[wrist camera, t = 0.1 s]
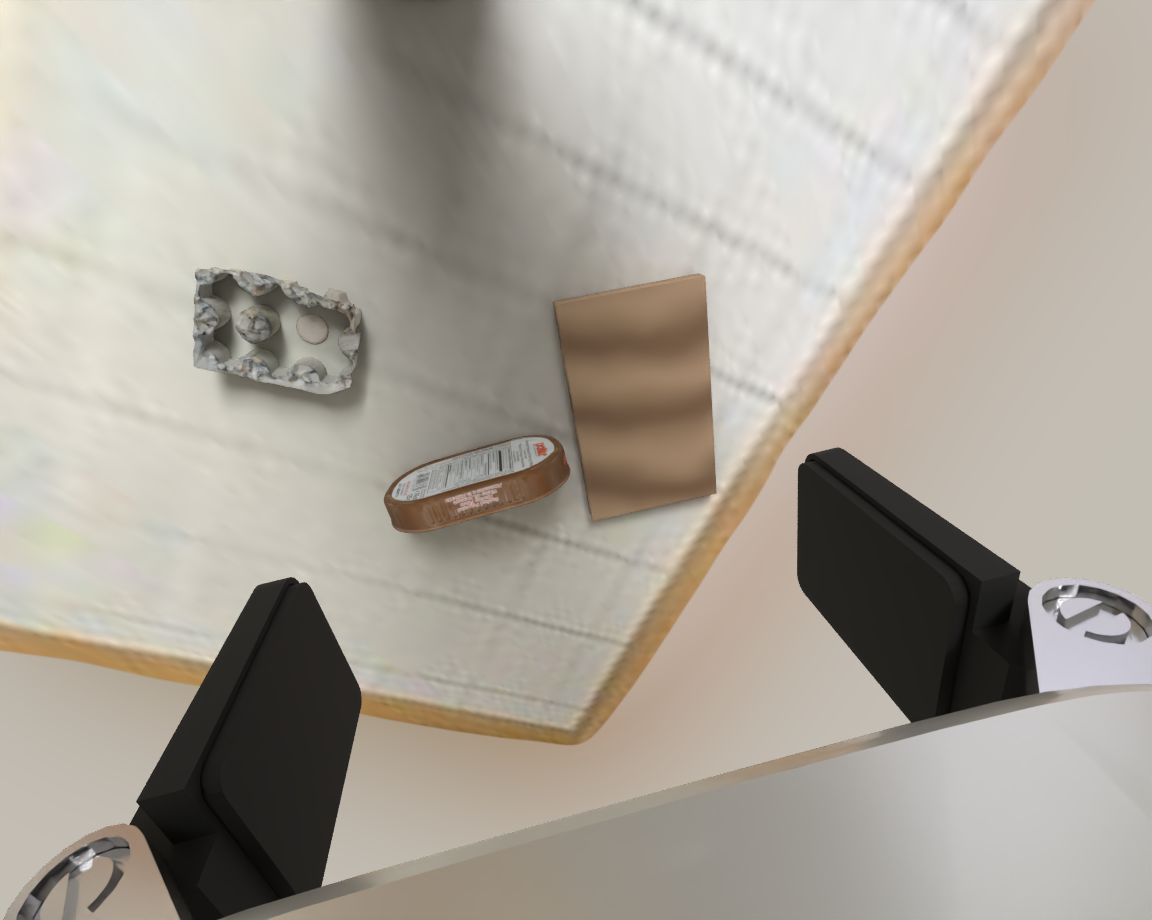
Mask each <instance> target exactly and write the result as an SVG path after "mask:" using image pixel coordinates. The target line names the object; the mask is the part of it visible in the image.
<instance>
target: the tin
mask: <svg viewBox="0 0 1152 920" xmlns="http://www.w3.org/2000/svg"><path fill="white" fill-rule="evenodd" d="M569 475H570V467H569V465H568V464H567V461H566V457H565V453H564V450H563V447H562V445H561V444H560V443H559V442H558V441H557V440H556V439H554V438H552V437H549V436H542V435H534V436H525V437H519V438H515V439H511V440H508V441H504V442H500V443H496V444H493V445H489V446H485V447H482V448H478V449H474V450H471V451H467V452H463V453H460V454H456V455H453V456H449V457H446V458H442V459H439V460H435V461H432V462H429V463H426V464H424V465H421V466H419V467H417V468H415V469H413V470H411V471H409V472H407V473H405V474H404V475H402V476H401V477H399V478H398V479H396V480H395V481H394V482H393V483H392V485H391V486H390V488H389V489H388V491H387V492H386V494H385V497H384V503H385V506H386V508H387V510H388V513H389V515H390V517H391V522H392V525H393V527H394V528H395V529H396V530H398V531H400V532H405V533H421V532H427V531H432V530H436V529H439V528H443V527H447V526H450V525H453V524H457V523H461V522H464V521H468V520H471V519H475V518H478V517H482V516H485V515H489V514H492V513H496V512H500V511H504V510H507V509H510V508H514V507H518V506H522V505H525V504H528V503H531V502H534V501H537V500H539V499H541V498H543V497H545V496H547V495H549V494H551V493H552V492H554V491H555V490H557V489H558V488H560V487H561V486H562V485H563V484H564V483H565V482H566V480H567V479H568V477H569Z"/></svg>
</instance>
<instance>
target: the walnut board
mask: <svg viewBox="0 0 1152 920" xmlns="http://www.w3.org/2000/svg"><path fill="white" fill-rule="evenodd" d="M554 308H555V314H556V320H557V325H558V331H559V337H560V343H561V348H562V354H563V360H564V366H565V371H566V377H567V383H568V389H569V395H570V400H571V406H572V412H573V418H574V423H575V429H576V435H577V441H578V446H579V452H580V458H581V464H582V469H583V475H584V481H585V487H586V492H587V498H588V504H589V510H590V514H591V517H592V520H593V521H597V520H601V519H605V518H610V517H614V516H619V515H623V514H627V513H632V512H636V511H641V510H645V509H649V508H654V507H658V506H663V505H667V504H671V503H676V502H680V501H685V500H689V499H693V498H698V497H702V496H707V495H711V494H715V493H716V475H715V456H714V437H713V417H712V398H711V379H710V359H709V340H708V321H707V302H706V282H705V276H704V275H701V274H693V275H688V276H683V277H678V278H673V279H668V280H663V281H657V282H652V283H647V284H642V285H637V286H632V287H627V288H622V289H616V290H611V291H606V292H601V293H596V294H591V295H586V296H581V297H576V298H570V299H565V300H560V301H555V302H554Z"/></svg>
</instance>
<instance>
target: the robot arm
mask: <svg viewBox="0 0 1152 920" xmlns="http://www.w3.org/2000/svg"><path fill="white" fill-rule="evenodd" d="M797 541H798V542H797V543H798V544H797V545H798V546H797V548H798V549H797V576H798V581H799V584H800V587H801V589H802V591H803V592H804V593H805V595H806V596H807V597H808V598H809V600H810V601H811V602H812V603H813V604H814V606H815V607H816V608H817V609H818V610H819V612H820V613H821V614H822V615H823V616H824V618H825V619H826V620H827V621H828V623H829V624H830V625H831V626H832V627H833V629H834V630H835V631H836V632H837V633H838V635H839V636H840V637H841V638H842V639H843V641H844V642H845V643H846V644H847V645H848V647H849V648H850V649H851V650H852V652H853V653H854V654H855V655H856V656H857V658H858V659H859V660H860V661H861V662H862V664H863V665H864V666H865V667H866V668H867V670H868V671H869V672H870V673H871V674H872V676H873V677H874V678H875V679H876V681H877V682H878V683H879V684H880V685H881V687H882V688H883V689H884V690H885V691H886V693H887V694H888V695H889V696H890V697H891V699H892V700H893V701H894V702H895V704H896V705H897V706H898V707H899V708H900V710H901V711H902V712H903V713H904V714H905V716H906V717H907V718H908V719H909V720H910V722H911V723H909V724H905V725H901V726H898V727H894V728H890V729H886V730H883V731H879V732H875V733H871V734H868V735H864V736H861V737H857V738H853V739H849V740H846V741H842V742H838V743H835V744H831V745H828V746H824V747H820V748H816V749H812V750H809V751H805V752H801V753H798V754H794V755H790V756H786V757H783V758H779V759H776V760H772V761H768V762H764V763H761V764H757V765H753V766H750V767H746V768H742V769H738V770H735V771H731V772H727V773H724V774H720V775H717V776H713V777H709V778H706V779H702V780H699V781H695V782H691V783H688V784H684V785H680V786H677V787H673V788H670V789H666V790H662V791H659V792H655V793H651V794H648V795H644V796H641V797H637V798H633V799H630V800H626V801H622V802H619V803H615V804H612V805H608V806H605V807H601V808H597V809H594V810H590V811H587V812H583V813H579V814H576V815H572V816H569V817H565V818H561V819H558V820H554V821H551V822H547V823H543V824H540V825H536V826H533V827H529V828H525V829H522V830H518V831H515V832H512V833H508V834H504V835H501V836H497V837H494V838H490V839H487V840H483V841H479V842H476V843H473V844H469V845H465V846H462V847H458V848H455V849H451V850H448V851H444V852H441V853H437V854H434V855H430V856H426V857H423V858H419V859H416V860H412V861H409V862H405V863H402V864H398V865H395V866H391V867H388V868H384V869H381V870H377V871H373V872H370V873H367V874H363V875H360V876H357V877H353V878H350V879H346V880H343V881H340V882H337V883H333V884H330V885H326V886H323V887H321V886H322V881H323V877H324V872H325V867H326V863H327V858H328V854H329V849H330V845H331V840H332V836H333V831H334V827H335V822H336V817H337V813H338V808H339V804H340V800H341V795H342V790H343V785H344V781H345V777H346V772H347V768H348V763H349V759H350V754H351V749H352V745H353V741H354V736H355V732H356V727H357V722H358V718H359V714H360V709H361V691H360V687H359V685H358V683H357V681H356V679H355V677H354V674H353V672H352V670H351V668H350V666H349V664H348V662H347V660H346V658H345V656H344V654H343V652H342V650H341V648H340V646H339V644H338V642H337V640H336V638H335V636H334V634H333V632H332V630H331V628H330V626H329V624H328V622H327V620H326V618H325V615H324V613H323V611H322V609H321V607H320V605H319V603H318V601H317V599H316V597H315V595H314V593H313V591H312V589H311V587H310V586H309V585H308V584H307V583H305V582H303V583H299V582H298V581H297V580H296V579H295V578H292V577H290V578H286V579H281V580H277V581H273V582H269V583H265V584H261V585H258V586H257V587H256V588H255V589H254V591H253V593H252V595H251V596H250V598H249V600H248V602H247V604H246V605H245V607H244V609H243V611H242V612H241V614H240V616H239V618H238V620H237V621H236V623H235V625H234V627H233V629H232V630H231V632H230V634H229V636H228V638H227V639H226V641H225V643H224V645H223V647H222V648H221V650H220V652H219V654H218V656H217V657H216V659H215V661H214V663H213V665H212V666H211V668H210V670H209V672H208V674H207V675H206V677H205V679H204V681H203V683H202V684H201V686H200V688H199V690H198V691H197V694H196V695H195V697H194V699H193V701H192V702H191V704H190V706H189V708H188V710H187V711H186V713H185V715H184V717H183V718H182V720H181V722H180V724H179V726H178V727H177V729H176V732H175V733H174V735H173V737H172V738H171V740H170V742H169V744H168V746H167V747H166V749H165V751H164V753H163V755H162V756H161V758H160V760H159V762H158V763H157V765H156V767H155V769H154V771H153V772H152V774H151V776H150V778H149V780H148V781H147V783H146V785H145V787H144V788H143V790H142V792H141V794H140V796H139V798H138V799H137V801H136V802H137V803H138V804H139V808H138V810H137V812H136V814H135V815H134V817H133V819H132V821H131V823H130V825H127V824H118V825H113V826H108V827H105V828H102V829H100V830H98V831H95V832H93V833H91V834H88V835H86V836H84V837H83V838H81V839H80V840H78V841H77V842H75V843H73V844H72V845H70V846H69V847H67V848H65V849H64V850H63V851H62V852H60V853H59V854H58V855H57V856H55V857H54V858H53V859H52V860H51V861H49V862H48V863H47V864H46V865H45V866H43V867H42V869H40V871H39V872H38V873H37V874H36V875H35V876H34V877H33V878H32V879H31V880H30V881H29V882H28V883H27V884H26V885H25V886H24V888H23V889H22V890H21V892H20V893H19V895H18V896H17V897H16V899H15V900H14V902H13V903H12V904H11V906H10V907H9V908H8V910H7V913H6V915H5V917H4V919H3V920H1152V605H1150V604H1149V603H1148V602H1146V601H1144V600H1142V599H1141V598H1139V597H1137V596H1135V595H1133V594H1132V593H1130V592H1128V591H1125V590H1122V589H1120V588H1117V587H1114V586H1111V585H1109V584H1105V583H1101V582H1096V581H1091V580H1088V579H1076V578H1059V579H1049V580H1046V581H1043V582H1041V583H1038V584H1036V585H1035V586H1034V587H1033V588H1030V587H1029V586H1027V585H1026V584H1025V583H1023V582H1022V581H1020V580H1019V575H1020V571H1019V570H1018V569H1016V568H1015V567H1013V566H1012V565H1010V564H1009V563H1007V562H1006V561H1005V560H1003V559H1002V558H1000V557H999V556H997V555H996V554H994V553H993V552H991V551H990V550H989V549H987V548H986V547H984V546H983V545H981V544H980V543H978V542H977V541H976V540H974V539H973V538H971V537H970V536H968V535H967V534H965V533H964V532H962V531H961V530H960V529H958V528H957V527H955V526H954V525H952V524H951V523H949V522H948V521H947V520H945V519H944V518H942V517H941V516H939V515H938V514H936V513H935V512H934V511H932V510H931V509H929V508H928V507H926V506H925V505H923V504H922V503H920V502H919V501H918V500H916V499H915V498H913V497H912V496H910V495H909V494H907V493H906V492H904V491H903V490H902V489H900V488H899V487H897V486H896V485H894V484H893V483H891V482H890V481H888V480H887V479H886V478H884V477H883V476H881V475H880V474H878V473H877V472H876V471H874V470H873V469H871V468H870V467H868V466H867V465H865V464H864V463H862V462H861V461H860V460H858V459H857V458H855V457H854V456H852V455H851V454H849V453H848V452H846V451H845V450H844V449H841V448H833V449H829V450H825V451H821V452H816V453H813V454H809V455H808V456H807V458H806V460H805V463H802V464H801V465H800V466H799V469H798V539H797Z"/></svg>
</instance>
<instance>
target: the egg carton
mask: <svg viewBox="0 0 1152 920" xmlns="http://www.w3.org/2000/svg"><path fill="white" fill-rule="evenodd" d="M228 274H232V275H233V278H234V279H235V280H236V281H237V283H238V284H239V286H240V287H241V288H242V289H244V290H245V291H247V292H248V293H250V294H251V295H252V296H253V297H259V296H261V295H264V294H266V293H269V292H271V291H272V290H274V289H276V288H277V287H278V285H280V286H281V288H282V290H283V292H284V294H285V295H286V296H287V297H288V298H292V299H294V301H295V302H296V303H297V304H299V305H305V306H306V307H307V308H313V307H316V306H318V305H319V306H322V307H324V308H328V309H331V310H335V311H338V312H340V313H343V314H344V315H346V316H347V317H348V319H349V321H350V325H349V326H348V327H347V328H346V329H345V330H344V331H343V332H342V333H341V335H340V337H339V339H338V344H339V347H340V350H341V351H342V353H343V354H344V355H345V356H347V357H348V358H350V359H351V360H352V361H353V365H350V366H347V367H346V368H344V369H343V371H342V372H341V373H340V375H339V376H338V377H337V376H331V375H327V372H326V368H325V367H324V365H323V364H322V363H321V362H320V361H319V360H317V359H315V358H311V357H306V358H302V359H300V360H299V361H298V362H297V363H296V364H294V365H293V366H292V367H291V368H290V369H289V368H284V367H280V366H279V362H278V360H277V358H276V356H275V355H274V354H273V353H271V352H270V351H268V350H264V349H254V350H252V351H251V352H249V353H248V354H247V355H245V356H243V357H240V358H238V359H237V360H236V359H232V358H231V355H230V353H229V350H228V349H227V348H226V346H224V345H223V344H222V343H220V342H218V341H216V340H214V330H216V329H218V328H220V327H222V326H223V325H225V324H226V323H227V322H228V321H229V319H230V317H231V311H230V308H229V306H228V305H227V303H226V302H225V301H224V300H223V299H221V298H220V297H217V296H215V295H213V293H212V283H214V282H217V281H220V280H222V279H224V278H226V277H227V276H228ZM195 278H196V279H197V288H196V294H195V296H194V304H195V314H194V331H193V337H194V341H195V345H194V353H193V357H194V366H195V367H197V368H200V369H205V370H210V371H216V372H220V373H230V374H235V375H239V376H240V377H249V378H251V379H253V380H255V381H258V382H265V383H272V384H276V385H281V386H285V387H293V388H296V389H300V390H304V391H308V392H312V393H316V394H325V395H326V394H332V393H335V392H338V391H341V390H343V389H346V388H350V386H351V384H352V379H351V373H352V372H353V369H354V368H355V366H356V365H357V358H358V352H355V350H357V349H358V346H359V341H360V335H361V332H358V333H357V332H356V327H357V325H359V323H360V321H361V310H360V309H358V308H357V307H355V305H354V304H353V305H352V304H351V303H350V301H349V300H348V298H347V294H346V293H345V292H343V291H340V290H335V289H330V288H329V290H328V291H327V292H326V294H325V296H324V297H321V296H319V295H316V294H314V293H311V292H309V291H308V289H307V288H304V287H300V286H298V282H297V281H288V280H278V279H276V278H273V277H270V276H267V275H262V274H257V273H250V272H247V271H244V270H241V269H230V270H223V269H220V268H216V267H214V268H211V269H196V272H195ZM279 328H280V318H279V315H278V314H277V312H276V311H275V310H273V309H272V308H271V307H269V306H267V305H263V304H261V305H255V306H252V307H250V308H248V309H246V310H244V311H243V312H241V313H240V314H239V315H238V318H237V321H236V329H237V331H238V332H239V333H240V335H241V337H242V338H243V339H245V340H246V341H248V342H250V343H253V344H256V343H259V342H262V341H265V340H267V339H268V338H270V337H271V336H272V335H274V334H275V333H276V332H277V331H278V330H279ZM296 328H297V332H298V334H299V336H300V337H301V338H302V339H303V340H305V341H307V342H309V343H311V344H318V343H321V342H323V341H324V340H325V339H326V338H327V336H328V332H329V331H328V326H327V324H326V322H325V321H324V320H323V319H322V318H321V317H319V316H317V315H314V314H306V315H304V316H302V317H301V318H299V320H298V321H297V324H296Z"/></svg>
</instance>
